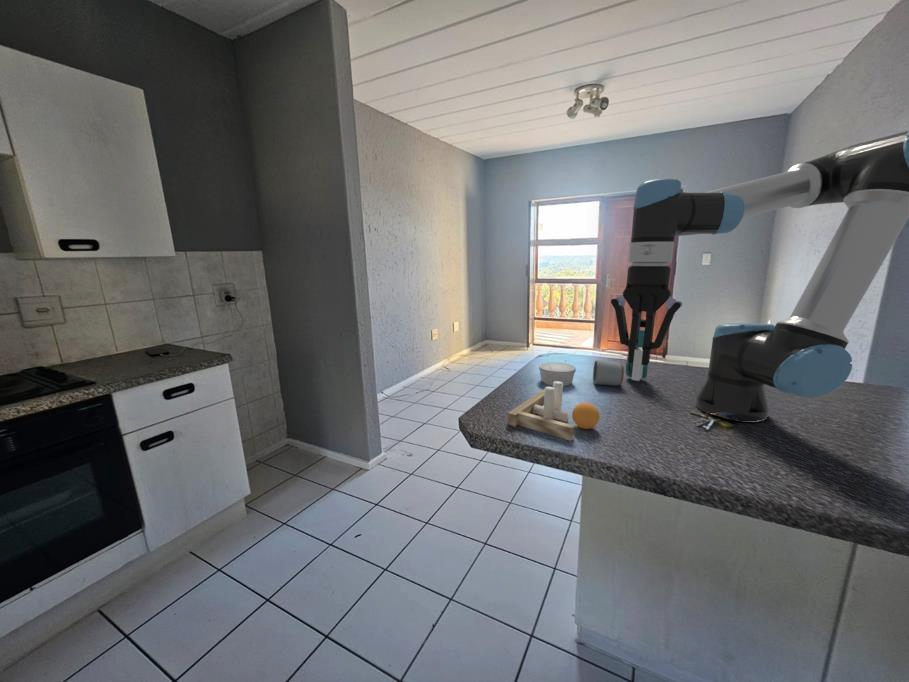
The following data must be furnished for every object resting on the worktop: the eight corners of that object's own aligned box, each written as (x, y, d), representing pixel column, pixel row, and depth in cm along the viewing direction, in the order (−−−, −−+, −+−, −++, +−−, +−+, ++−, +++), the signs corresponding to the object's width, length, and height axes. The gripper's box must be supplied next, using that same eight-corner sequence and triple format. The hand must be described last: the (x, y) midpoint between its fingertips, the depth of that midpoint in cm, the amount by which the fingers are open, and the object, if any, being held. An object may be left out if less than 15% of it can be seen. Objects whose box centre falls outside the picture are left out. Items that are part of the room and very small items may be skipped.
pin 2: (562, 414, 93) (564, 382, 92) (558, 417, 92) (560, 385, 90) (553, 411, 95) (555, 380, 93) (549, 415, 93) (551, 383, 91)
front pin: (569, 411, 90) (536, 403, 95) (565, 413, 88) (532, 405, 93) (568, 421, 90) (536, 412, 95) (564, 423, 88) (532, 414, 93)
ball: (572, 405, 90) (585, 427, 89) (563, 413, 85) (577, 436, 84) (593, 395, 86) (607, 418, 85) (585, 403, 82) (600, 427, 81)
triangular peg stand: (597, 412, 94) (598, 401, 94) (568, 443, 79) (569, 430, 78) (542, 399, 103) (543, 389, 102) (507, 424, 88) (507, 412, 87)
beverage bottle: (645, 378, 121) (652, 318, 117) (648, 384, 115) (655, 321, 111) (623, 376, 124) (629, 317, 119) (625, 382, 117) (632, 320, 113)
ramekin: (531, 379, 121) (532, 364, 120) (558, 375, 125) (559, 360, 124) (553, 390, 111) (554, 373, 110) (582, 385, 115) (583, 369, 114)
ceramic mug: (623, 389, 111) (625, 364, 110) (595, 387, 113) (597, 363, 112) (616, 379, 121) (618, 356, 120) (590, 377, 123) (592, 355, 122)
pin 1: (554, 421, 90) (556, 388, 88) (550, 424, 88) (552, 390, 86) (545, 418, 91) (547, 386, 89) (541, 421, 89) (543, 388, 87)
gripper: (609, 264, 73) (599, 377, 78) (685, 265, 66) (669, 390, 71) (619, 264, 79) (609, 369, 84) (690, 264, 71) (674, 380, 77)
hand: (636, 378), depth 78 cm, fingers closed
